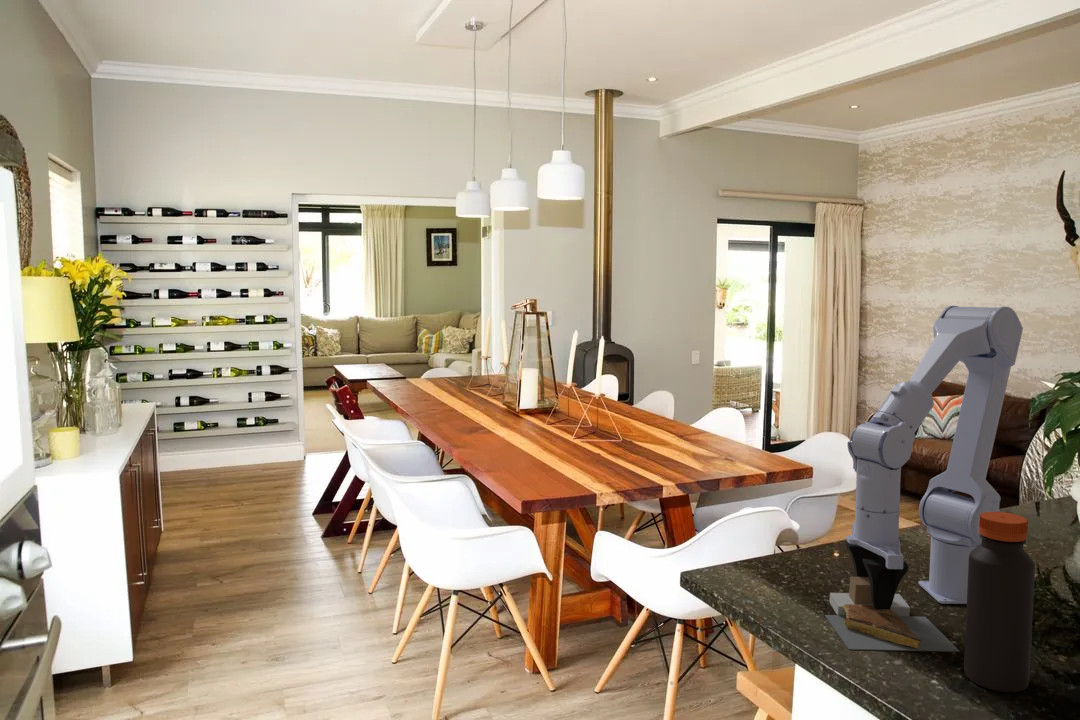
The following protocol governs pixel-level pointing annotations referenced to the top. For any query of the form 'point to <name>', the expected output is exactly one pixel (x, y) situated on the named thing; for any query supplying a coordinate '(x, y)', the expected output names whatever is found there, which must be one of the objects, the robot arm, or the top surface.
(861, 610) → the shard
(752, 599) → the top surface
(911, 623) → the felt mat
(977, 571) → the bottle
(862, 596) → the grout float
